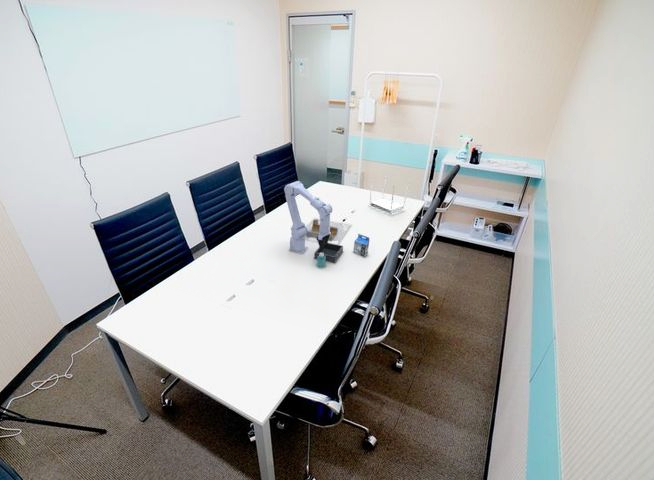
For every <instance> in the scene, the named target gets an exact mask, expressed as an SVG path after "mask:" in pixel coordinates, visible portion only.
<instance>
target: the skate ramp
mask: <svg viewBox="0 0 654 480" xmlns="http://www.w3.org/2000/svg"><path fill="white" fill-rule="evenodd" d="M329 227H330V230H329V231H331V232H332V233H331V234H330V237H329V240H328V242H329V241H330V242H332V241H336V242H341V241H342V239H343V238H344V236H345V235H346V233H345V229H344V228H343V225H342V223H341V222H335V221H330V225H329ZM306 228H307V230H308V233H307V234H306V237H305V241H309V239H311V238H314V239H316V238H317V237H318V236H319V231H320V219H319V217H315V218H313V220H312V221H311V222H310V223H309V224H308V225H307V226H306ZM323 238H324V237H323Z"/></svg>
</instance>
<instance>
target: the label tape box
mask: <svg viewBox="0 0 654 480" xmlns="http://www.w3.org/2000/svg"><path fill="white" fill-rule="evenodd" d="M369 246H370V237H368V236H366V235H363V234H361V233H357V237H356V238H355V240H354V242H353V250H352V251H353V254H356V255H358V256H362V257H364V258H365V257H367V256H368V253H369Z"/></svg>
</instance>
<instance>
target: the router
mask: <svg viewBox="0 0 654 480" xmlns="http://www.w3.org/2000/svg"><path fill="white" fill-rule="evenodd" d="M384 179H385V181H384V185H383V191H382V196H381V198H380V199H377V200H374V201H372V190H373V189H372V186H373V178H370V192H369V205H368V207H369V208H372V209H374V210H377V211H379V212H381V213H383V214H386V215H388V216H391V217H392V216H395V215H397V214H400V213H402V212H405V209H404V208H405V204H406V199H407V195H408V190H409V186H410V182H411V181H407V186H406V191H405V196H404V200H403V204H400V203H397V202H394V194H395V192H394V191H395V185H393V186H392V192H391V193H392V194H391V200H388V199H386V198H384V196H385V195H384V194H385V190H386V186H387V185H386V184H387V179H388V174H386V175H385V178H384Z"/></svg>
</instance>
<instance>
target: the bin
mask: <svg viewBox="0 0 654 480" xmlns="http://www.w3.org/2000/svg"><path fill="white" fill-rule="evenodd" d="M343 252H344V245H341V244H335V243H331V242H328V243H324V247H323V249H321V248H320V247H319V246H318V248H317V249H316V250H315V251H314V256H313V257H314V260H315V259H316V260H317V257H318V256H319V253H324V256H325V257H326V262H329V263H333V264H335V263H337V261H338V259H340V258H339V257H340V256H341V255H342V253H343Z"/></svg>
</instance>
